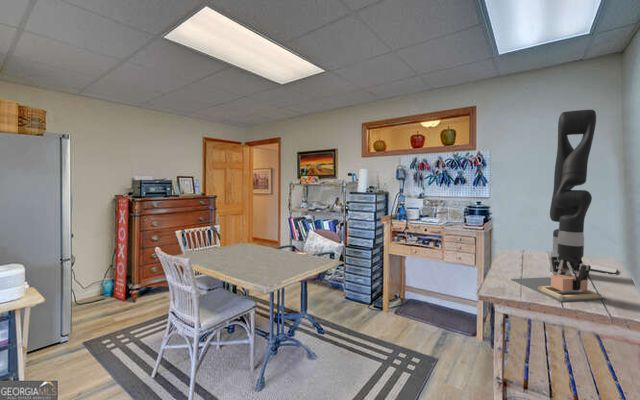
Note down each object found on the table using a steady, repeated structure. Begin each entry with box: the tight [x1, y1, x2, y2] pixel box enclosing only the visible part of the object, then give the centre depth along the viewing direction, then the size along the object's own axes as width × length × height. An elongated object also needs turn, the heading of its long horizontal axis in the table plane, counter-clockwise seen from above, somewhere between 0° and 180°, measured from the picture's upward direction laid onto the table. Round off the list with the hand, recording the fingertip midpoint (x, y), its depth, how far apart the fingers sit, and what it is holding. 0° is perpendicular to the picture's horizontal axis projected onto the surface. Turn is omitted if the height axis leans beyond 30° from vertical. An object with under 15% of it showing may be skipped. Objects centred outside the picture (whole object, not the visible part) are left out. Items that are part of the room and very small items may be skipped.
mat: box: [510, 276, 608, 303], centre depth 117 cm, size 24×18×2 cm
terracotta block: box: [550, 274, 589, 291], centre depth 111 cm, size 10×5×4 cm, turn 95°
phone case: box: [584, 263, 619, 275], centre depth 142 cm, size 9×2×16 cm
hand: (568, 287), depth 111 cm, fingers closed on terracotta block, 5 cm apart
